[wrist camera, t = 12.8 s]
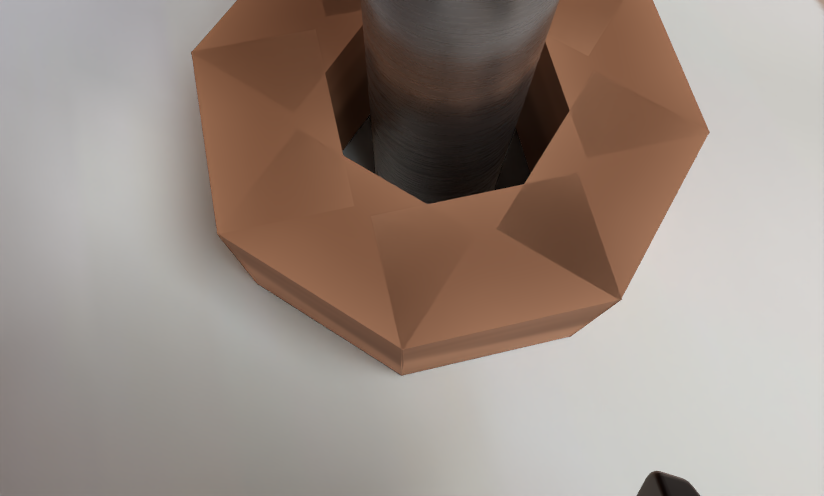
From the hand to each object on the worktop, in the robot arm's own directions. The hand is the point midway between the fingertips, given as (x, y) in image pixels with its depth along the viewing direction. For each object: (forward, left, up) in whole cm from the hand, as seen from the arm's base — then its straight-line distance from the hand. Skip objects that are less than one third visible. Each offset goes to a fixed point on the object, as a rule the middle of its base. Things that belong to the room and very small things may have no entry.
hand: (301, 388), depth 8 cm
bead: (+7, +2, -8) cm, 11 cm away
